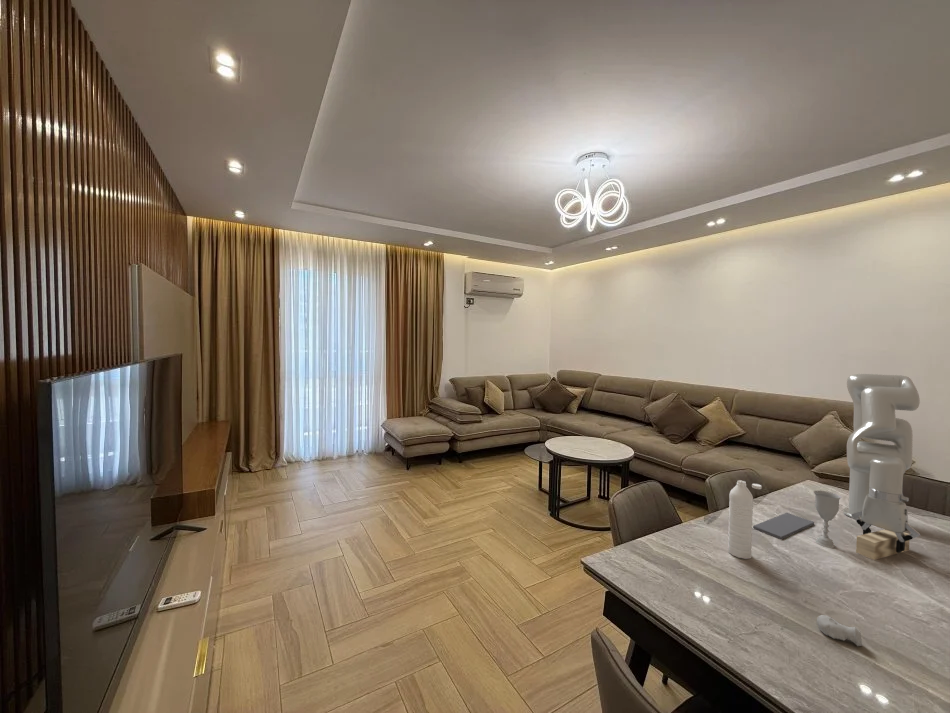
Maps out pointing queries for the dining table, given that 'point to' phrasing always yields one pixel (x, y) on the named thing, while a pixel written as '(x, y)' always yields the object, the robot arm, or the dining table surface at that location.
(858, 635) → the smooth white sculpture
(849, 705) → the dining table surface
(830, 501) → the chalice
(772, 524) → the tool pad
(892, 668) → the dining table surface
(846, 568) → the dining table surface
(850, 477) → the robot arm
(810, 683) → the dining table surface
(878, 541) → the grooved wooden block
